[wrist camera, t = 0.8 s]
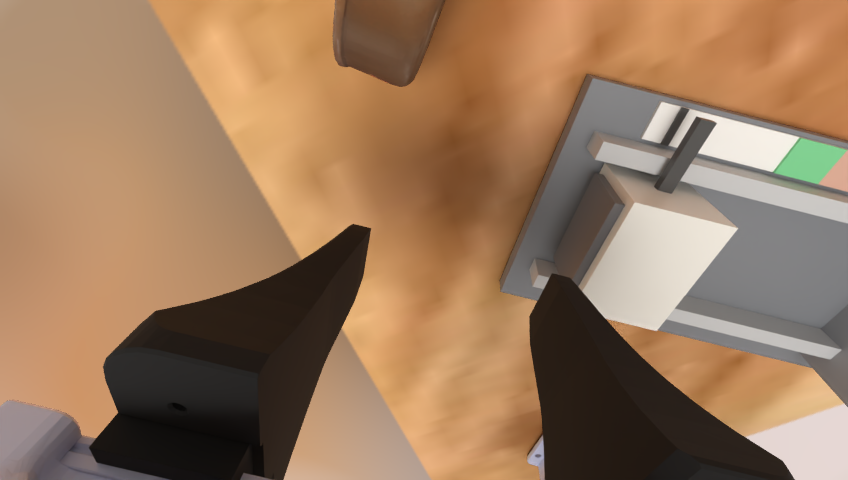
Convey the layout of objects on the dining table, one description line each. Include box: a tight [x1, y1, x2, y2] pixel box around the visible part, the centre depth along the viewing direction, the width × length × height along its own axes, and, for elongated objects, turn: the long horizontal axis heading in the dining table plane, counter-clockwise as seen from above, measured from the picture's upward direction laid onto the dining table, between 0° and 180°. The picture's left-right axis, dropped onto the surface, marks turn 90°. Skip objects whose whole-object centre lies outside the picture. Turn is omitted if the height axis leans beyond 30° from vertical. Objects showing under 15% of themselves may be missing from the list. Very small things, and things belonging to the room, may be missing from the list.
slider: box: [553, 116, 738, 331], centre depth 17 cm, size 9×4×4 cm, turn 168°
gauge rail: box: [500, 74, 848, 407], centre depth 17 cm, size 12×20×7 cm, turn 78°
